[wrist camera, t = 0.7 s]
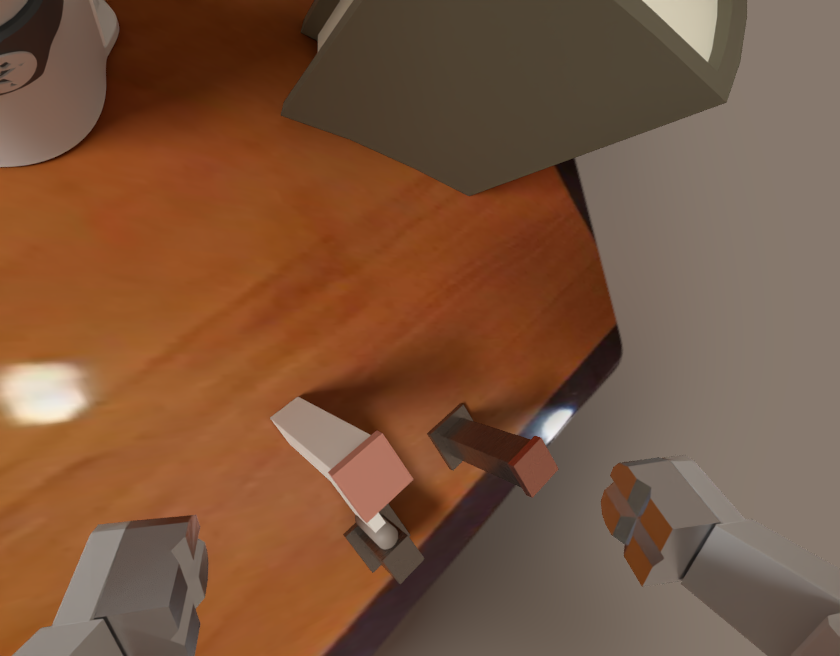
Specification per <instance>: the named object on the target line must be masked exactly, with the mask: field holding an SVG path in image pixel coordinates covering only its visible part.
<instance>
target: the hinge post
mask: <svg viewBox="0 0 840 656" xmlns="http://www.w3.org/2000/svg"><path fill="white" fill-rule="evenodd" d="M378 513H379V514H380V515H381V516H382V517H383V518H384V519H385V520H386V521H388V522H389V523H390V524H391V525H392V526H393V527H395V528H396V530H397V532H398V539H397V542H396V544H395V545H394V546H393V547H391V548H390V549H382V548H380V547H379V546H378V545H377V544H376V543H375V542H374V541H373V540H372V539H371V538H370V537H369V536H368V535H367V534H366V533H365V532H364V531H363V530H362V529H361V528H360V527H359V526H358V525H357V523H355V524H354V525H353V526H352V527H351V528H350V529H349V530H348V531H347V532H346V533H345V534H343V535H344V536H345V537H346V539H347V540H348V541H349V543H350V544H351V545H352V546H353V548H354V549H355V550H356V552H357V553H358V554H359V556H360V557H361V558H362V560H363V561H364V562H365V563H366V565H367V566H368V567H369V569H370V570H371V571H372V572H374V571H375V570H376V569H377V568H378V567H379V566H380V565H382V566H383V567H384V568H385V569H386V570H387V571H388V572H389V573H390V574H391V575H392V576H393V578H394V579H395V580H396V581H397V582H398V583H399V584H401V583H402V582H403V581H404V580H405V579H406V578H407V577H408V576H409V575H410V573H411V572H412V571H413V570H414V569H415V568H416V567H417V566H418V565H419V564H420V563H421V562H422V561H423V560H424V557H423V556H422V555H421V553H420V552H419V550H418V549H417V548H416V546H415V545H414V543H413V542H412V541H411V539H410V538H409V536H410V534H409V533H408V531H407V530H406V528H405V527H404V525H403V524H402V523H401V521H400V520H399V518H398V517H397V516H396V514H395V513H394V511H393V510H392V509H391V507H390V506H389V504H387V505H386V506H385V507H384V508H383V509H382V510H381V511H379V512H378Z"/></svg>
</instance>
